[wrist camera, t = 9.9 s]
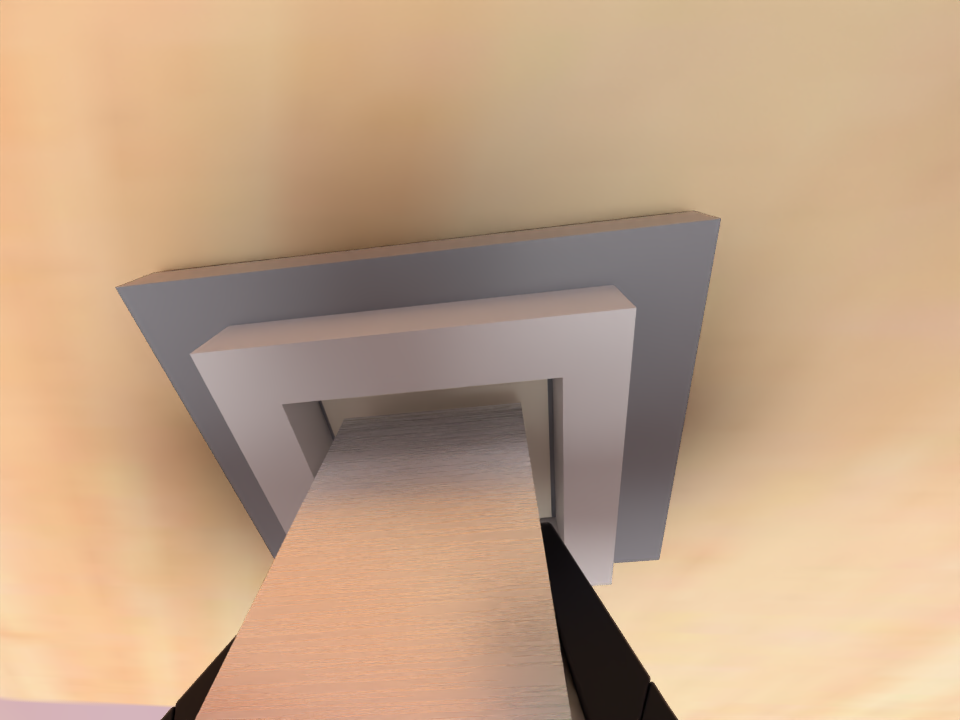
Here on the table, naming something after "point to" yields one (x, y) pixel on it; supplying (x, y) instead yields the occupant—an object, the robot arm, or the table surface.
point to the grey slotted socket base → (453, 361)
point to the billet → (406, 584)
